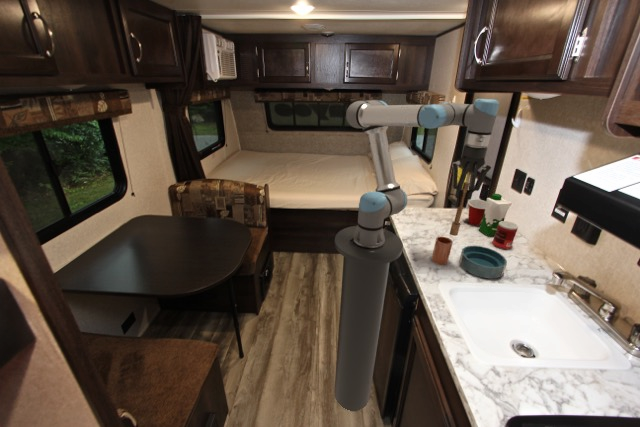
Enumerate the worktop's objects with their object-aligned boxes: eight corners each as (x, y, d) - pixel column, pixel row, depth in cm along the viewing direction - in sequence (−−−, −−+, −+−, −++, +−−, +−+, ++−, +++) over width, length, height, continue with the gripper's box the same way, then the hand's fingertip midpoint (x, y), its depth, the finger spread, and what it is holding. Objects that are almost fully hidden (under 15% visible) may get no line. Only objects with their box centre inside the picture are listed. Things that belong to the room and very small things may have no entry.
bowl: (463, 276, 115) (467, 264, 113) (455, 254, 130) (458, 243, 128) (508, 282, 112) (513, 270, 110) (495, 259, 127) (498, 248, 125)
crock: (432, 263, 123) (437, 243, 119) (430, 255, 128) (435, 235, 124) (448, 265, 122) (454, 245, 117) (446, 257, 127) (451, 237, 123)
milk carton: (490, 228, 154) (501, 192, 145) (503, 236, 146) (515, 199, 137) (475, 229, 152) (486, 193, 144) (488, 237, 144) (499, 200, 136)
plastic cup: (460, 223, 158) (465, 203, 153) (466, 217, 166) (471, 197, 161) (482, 229, 152) (488, 208, 147) (487, 222, 159) (493, 202, 154)
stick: (450, 235, 118) (463, 183, 108) (449, 231, 120) (461, 181, 111) (458, 236, 117) (471, 184, 108) (456, 232, 120) (469, 181, 110)
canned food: (511, 244, 139) (518, 223, 134) (510, 251, 133) (517, 230, 128) (493, 239, 143) (499, 219, 138) (491, 246, 137) (498, 225, 132)
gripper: (456, 146, 101) (442, 207, 111) (502, 149, 99) (483, 212, 109) (451, 142, 108) (439, 200, 118) (495, 145, 105) (478, 204, 115)
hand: (460, 206), depth 113 cm, fingers closed on stick, 2 cm apart
